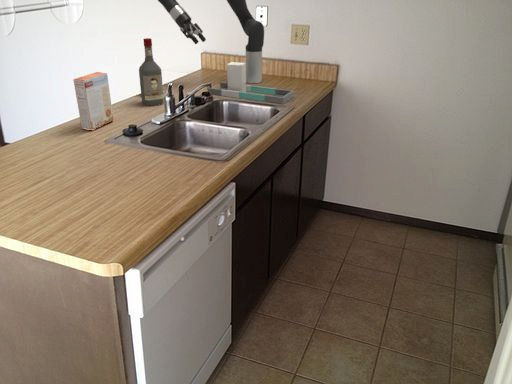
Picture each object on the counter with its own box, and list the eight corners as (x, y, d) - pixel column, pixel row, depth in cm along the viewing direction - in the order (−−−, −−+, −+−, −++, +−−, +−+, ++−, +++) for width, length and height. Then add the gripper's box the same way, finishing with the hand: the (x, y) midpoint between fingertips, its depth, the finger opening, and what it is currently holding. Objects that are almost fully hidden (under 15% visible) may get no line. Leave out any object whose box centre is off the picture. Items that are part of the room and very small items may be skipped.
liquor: (140, 102, 230) (134, 38, 217) (158, 99, 235) (153, 36, 221) (146, 107, 223) (140, 41, 210) (165, 104, 228) (160, 39, 214)
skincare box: (246, 92, 249) (246, 62, 242) (242, 95, 244) (242, 65, 237) (231, 91, 252) (231, 61, 245) (226, 94, 246) (226, 63, 239)
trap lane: (221, 87, 259) (221, 81, 257) (294, 96, 244) (294, 90, 242) (207, 93, 246) (207, 88, 245) (283, 104, 231) (283, 98, 230)
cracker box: (102, 120, 205) (96, 71, 196) (114, 121, 203) (108, 72, 194) (80, 129, 193) (72, 78, 184) (92, 131, 191) (84, 79, 182)
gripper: (176, 12, 235) (198, 38, 236) (191, 10, 247) (212, 35, 248) (168, 23, 239) (189, 48, 240) (183, 20, 251) (203, 44, 252)
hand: (201, 41), depth 244 cm, fingers open, 7 cm apart
